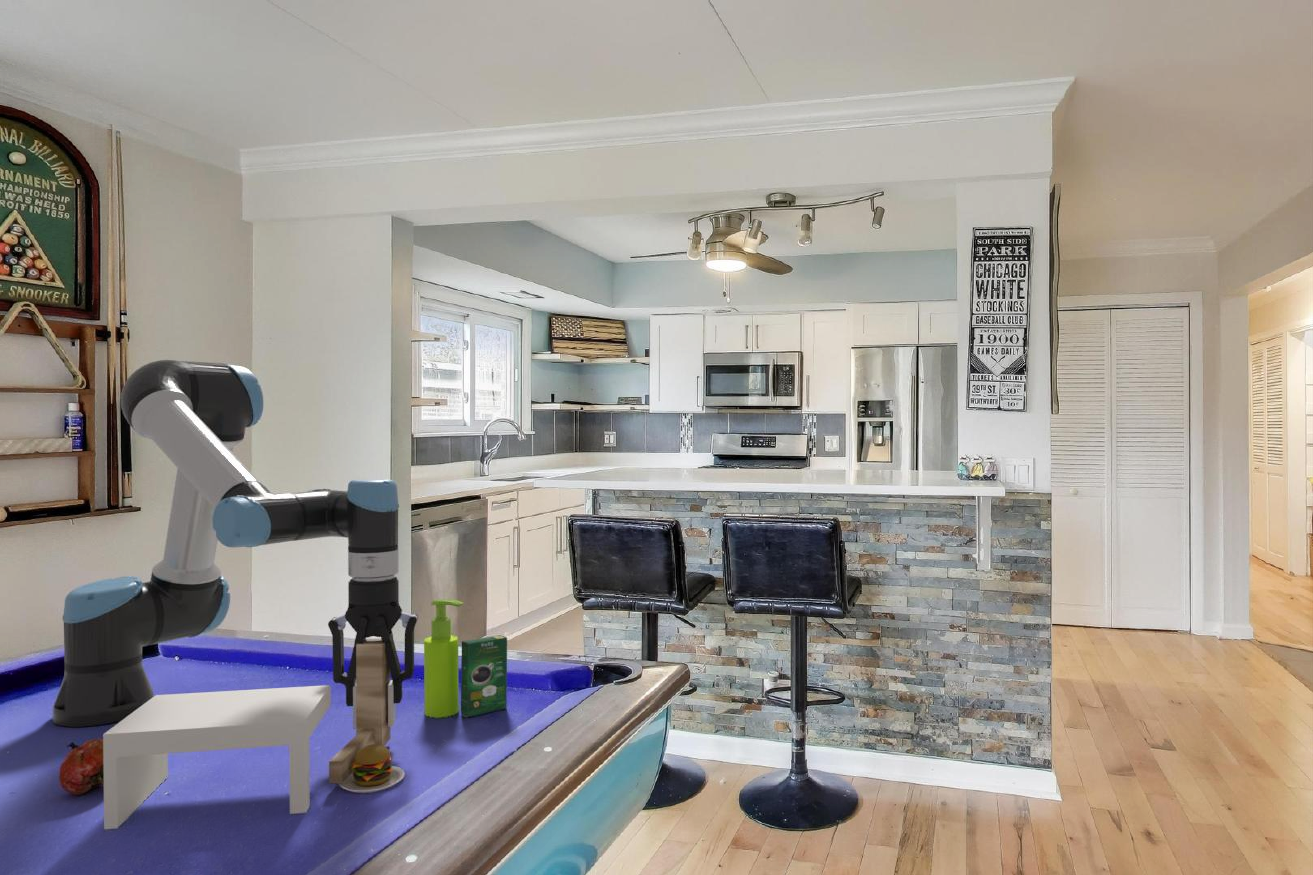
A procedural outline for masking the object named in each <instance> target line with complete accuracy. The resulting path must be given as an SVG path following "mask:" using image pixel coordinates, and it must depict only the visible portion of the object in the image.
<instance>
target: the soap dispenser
mask: <svg viewBox="0 0 1313 875" xmlns="http://www.w3.org/2000/svg"><path fill="white" fill-rule="evenodd" d="M464 602H465V601H464ZM464 602H463V601H460V600H457V599H452V598H451V599H449V598H447V599H444V598H443V599H435V600H433V601H431V606H435V611H436V612H435V616H434V617H433V618H432V619H431V620H430V621H431V622H430V624H431V625H430V626H431V627H430V628H431V632H430V633H431V634H430V635H431V636H428V637H426V638H424V639H423V655H424V656H423V658H424V659H423V660H424V661H423V662H424V663H423V667H424V669H423V671H424V672H423V673H424V674H423V675H424V679H423V681H424V684H423V685H424V689H423V690H424V716H426V717H428V716H429V717H428V718H432V717H434V718H436V719H441V718H442V717H443V718H449V717H452V716H455V715H457V714H458V713H459V710H460V706H459V705H460V702H459V697H460V696H459V694H460V692H459V691H460V690H459V637H458V636H456V635H452V618H450V617H449V616H446V615H447V612H446V611H447V606H453V607H456V608H458V607H461V606H462V605H463V604H464ZM451 715H452V716H451ZM448 716H449V717H448ZM443 718H442V719H443Z"/></svg>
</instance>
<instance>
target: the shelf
mask: <svg viewBox="0 0 1313 875" xmlns="http://www.w3.org/2000/svg"><path fill="white" fill-rule="evenodd" d="M331 689H332V687H331V684H325V685H324V684H323V685H309V686H307V685H306V686H294V687H293V686H290V687H278V688H277V687H276V688H273V687H272V688H260V689H259V688H256V689H241V690H225V691H224V690H222V691H207V692H190V693H188V692H187V693H173V694H172V693H170V694H156V695H155V694H154V697H153V698H151V699H150V700H149V701H147V702H146V703H145V704H143V705H142V706H141V707H139V708H138V709H137V710H135V711H134V712H133V713H131V714H130V715H128V716H127V717H126V718H124V719H123V720H121V721H118V723H117V724H114V726H112V727H111V728H109V729H108V730H107V731H106V732H104V733H103V734H102V740H103V764H104V786H103V829H104V830H113V829H119V827H121V825H122V824H123V823H124V822H126V821H127V819H129V817H130V816H131V815H132V814H134V812H135V811H136V810H137V809H138V808H140V806H141V805H142V804H143V803H144V802H145V801H146V800H147V799H148V798H149V797H150V796H151V795H152V794H153V793H154V792H155V791H156V790H157V789H158V788H159V787H160V786H161V785H162V784H163V783H164V780H165V779H166V780H167V779H168V777H169V766H168V765H169V763H168V762H169V761H168V759H169V757H168V756H169V754H180V753H195V752H197V753H198V752H210V751H224V750H236V749H237V750H239V749H253V748H268V747H269V748H270V747H281V746H289V748H288V751H289V753H288V756H289V757H288V758H289V815H294V814H306V813H307V812H308V810H309V808H310V806H311V802H310V799H311V798H310V797H311V796H310V792H311V791H310V784H311V783H310V738H311V736H312V735H313V733H314V732H315V730H316V729H317V727H318V726H319V724H320V722H321V721H322V720H323V718H324V716H325V715H326V713H327V712H328V710H329V708H330V707H331V705H332V701H331V700H332V696H331V695H332V694H331V693H332V692H331V691H332V690H331ZM166 780H165V781H166ZM161 783H162V784H161ZM160 784H161V785H160ZM159 785H160V786H159ZM157 787H158V788H157ZM156 788H157V789H156ZM152 792H153V793H152ZM151 793H152V794H151ZM150 794H151V795H150ZM148 796H149V797H148ZM147 797H148V798H147ZM144 800H145V801H144ZM143 801H144V802H143Z"/></svg>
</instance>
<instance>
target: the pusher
mask: <svg viewBox="0 0 1313 875" xmlns="http://www.w3.org/2000/svg"><path fill="white" fill-rule="evenodd" d="M390 680H391V672H390V668H389V665H388V661H387V657H386V653H385V643H382V639H381V637H379V638H366V639H365V641H364V642H363V644H356V729H355V730H356V731H355V732H356V735H355V736H354V737H353V738H352V739H351V740H350V741H349V742H347V744H346V745H345V746H343V747H342V748H341V749H340V750H339V751H338V752H337V753H336V754H335V755H334V756H333V757H331V759H329V761H328V784H339V783H343V781H344V780H345V779H346V778H347V777H348V776H349V775H350V774H351V773H352V772H353V770H351V768H352V767H353V763H354V762H353V761H354V757H355V754H356V753H357V752H358V751H359V750H360V749H362V748H363V747H365V746H368V745H372V744H379V745H383V746H385V745H386V744H388V742H389V741H390V740H391V727H388V684H389V682H390Z"/></svg>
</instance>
